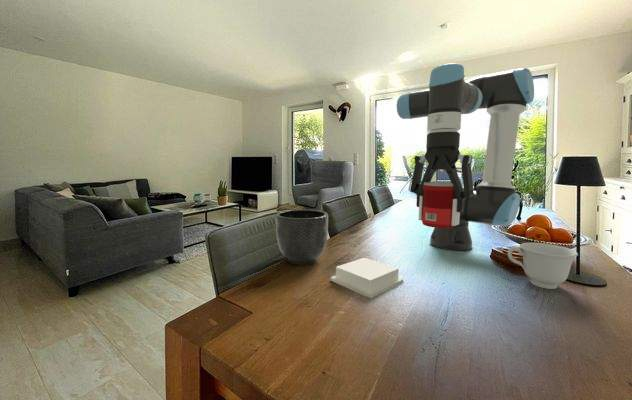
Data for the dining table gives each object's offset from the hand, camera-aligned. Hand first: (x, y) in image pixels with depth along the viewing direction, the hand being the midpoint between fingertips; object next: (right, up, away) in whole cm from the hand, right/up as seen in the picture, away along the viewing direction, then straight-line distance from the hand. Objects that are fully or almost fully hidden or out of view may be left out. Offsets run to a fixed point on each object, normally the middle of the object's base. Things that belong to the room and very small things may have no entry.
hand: (438, 222), depth 74 cm
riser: (-18, -17, +5) cm, 25 cm away
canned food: (0, -1, 0) cm, 1 cm away
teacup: (+28, -17, +4) cm, 33 cm away
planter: (-36, -15, +22) cm, 45 cm away
